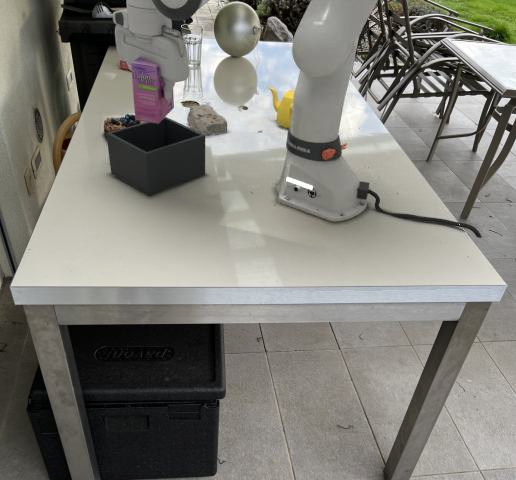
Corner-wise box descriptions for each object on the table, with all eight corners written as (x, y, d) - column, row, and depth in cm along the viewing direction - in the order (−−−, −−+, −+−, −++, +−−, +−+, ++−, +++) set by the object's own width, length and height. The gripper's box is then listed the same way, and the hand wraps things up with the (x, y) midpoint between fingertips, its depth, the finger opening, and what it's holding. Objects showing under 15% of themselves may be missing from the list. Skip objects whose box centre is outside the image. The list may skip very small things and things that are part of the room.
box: (159, 124, 117) (156, 65, 109) (134, 120, 118) (129, 62, 109) (175, 108, 124) (173, 53, 116) (151, 105, 125) (148, 49, 117)
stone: (232, 124, 150) (198, 123, 146) (228, 142, 154) (195, 142, 150) (218, 99, 157) (185, 97, 153) (214, 117, 161) (183, 116, 157)
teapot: (283, 136, 155) (287, 99, 148) (264, 119, 163) (267, 84, 156) (323, 131, 160) (329, 95, 153) (303, 116, 168) (308, 81, 161)
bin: (205, 175, 133) (205, 135, 126) (149, 196, 123) (146, 154, 116) (167, 155, 139) (165, 116, 133) (111, 174, 129) (106, 132, 123)
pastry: (99, 132, 147) (96, 111, 143) (140, 126, 152) (138, 105, 148) (114, 148, 140) (112, 125, 136) (156, 141, 146) (155, 119, 142)
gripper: (195, 30, 105) (196, 103, 115) (131, 9, 115) (137, 77, 124) (171, 34, 102) (173, 109, 111) (107, 12, 111) (114, 82, 121)
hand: (153, 92), depth 118 cm, fingers closed on box, 7 cm apart
